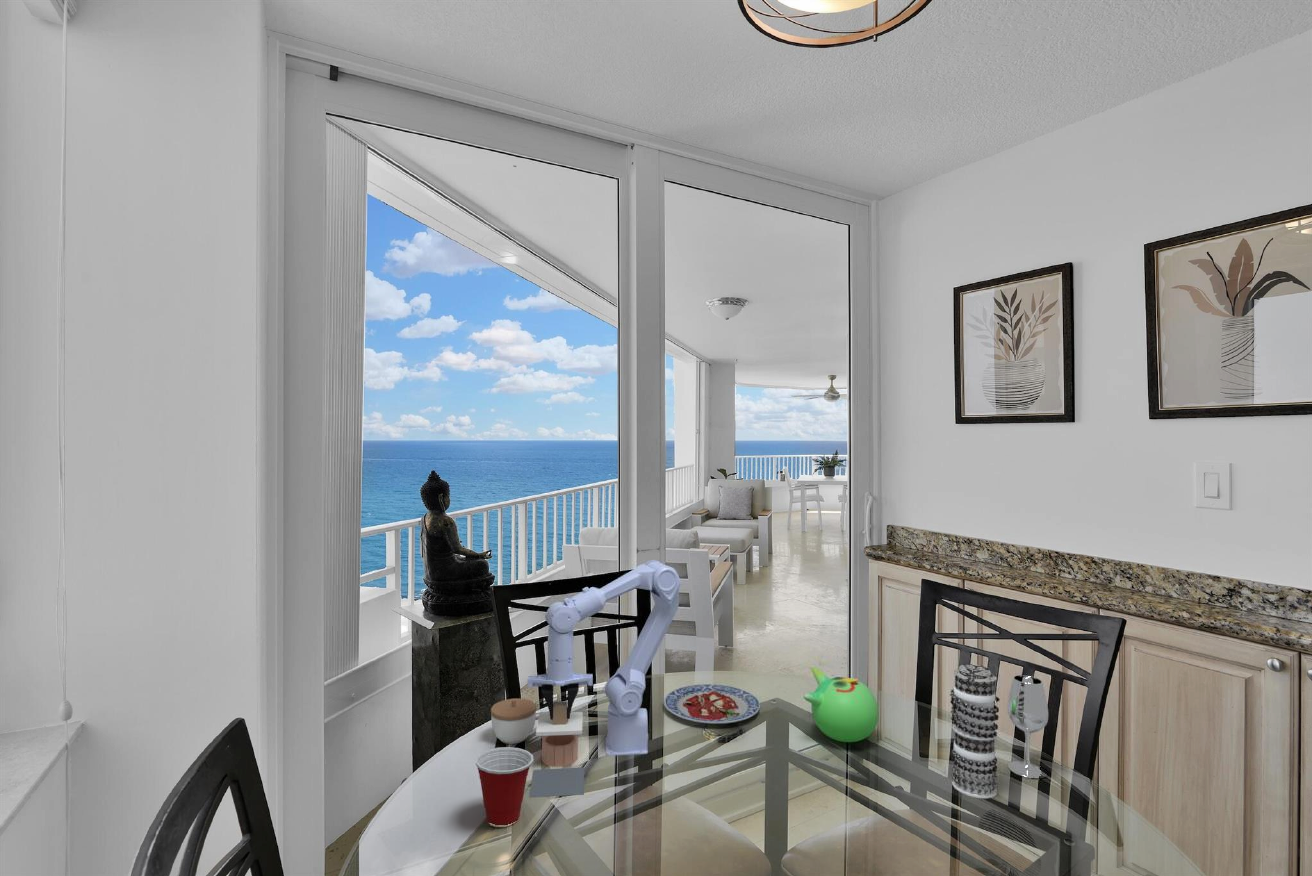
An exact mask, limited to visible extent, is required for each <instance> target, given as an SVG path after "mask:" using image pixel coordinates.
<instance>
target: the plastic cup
mask: <svg viewBox="0 0 1312 876" xmlns="http://www.w3.org/2000/svg"><path fill="white" fill-rule="evenodd" d="M533 762H534V754H532V753H531V752H529V751H528V750H525V749H523V748H519V747H511V746H507V747H504V746H503V747H494V748H490V749H487V750H485V751H483V752H480V753H479V754H478V755H477V756H476V757H475V766H476V767H477V770H478V771H477V772H478V775H479V780H480V786H481V787H480V788H481V794H482V801H483V808H484V809H485V816H486V817H485V818H486V822H487V821H488V822H489V823H492V824H495V825H508V824H511V823H513V822H515V821H517V820H518V821H519V819H518V818H520V816H521V809H522V803H523V801H524V800H523V799H524V793H525V788H526V785H527V779H528V778H527V777H528V774H529V771H530V767H531V765H532V764H533ZM518 821H517V822H518ZM488 822H487V823H488Z"/></svg>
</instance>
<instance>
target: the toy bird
mask: <svg viewBox="0 0 1312 876" xmlns="http://www.w3.org/2000/svg"><path fill="white" fill-rule="evenodd" d="M811 672H812V674H813V677H814V679H815V680H816V682H817V687H816V688H815V690H814V692H807V693H805V694H804V695H803V698H804V700H806V702H808V703H810V704H811V705H810V706H811V712H812V713H811V714H812V717H813V721H814V722H815V724H816V726H817V727H818V728H819V730H820V732H822V733H823V734H824V735H825V736H827V737H828V738H830V739H833V740H835V741H839V742H841V743H857V742H859V741H861V740H864V739H867V737H869V736H870V735H872V734H873V732H874V731H875V729H876V727H877V726H878V722H879V715H880V714H879V706H878V702H877V699H876V697H875V695H874V694H873V692H872V691H871V689H870V688H869V687H868V686H867V685H866V684H865V683H863V682H861V681H859V679H858V678H851V677H847V676H845V677H844V676H836V677H828V676H827V675H826V674H825V673H824V672H823V671H821V670H819V669H818V668H816V667H813V668H811Z"/></svg>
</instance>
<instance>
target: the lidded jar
mask: <svg viewBox="0 0 1312 876" xmlns="http://www.w3.org/2000/svg"><path fill="white" fill-rule="evenodd" d="M536 712H537V704H536V703H535V702H534V701H533V700H531V699H527V698H509V699H503V700H500V701H498V702H496V703H495V704H493V705H492V707H490V715H491V716H490V717H491V721H490V722H491V727H492V731H493V733H494V734H495V737H496V738H497V739H498V740H499V741H500V742H502V743H503V744H506V745H507V744H509V745H510V744H511V745H513V744H514V745H515V744H519V743H522V742H524V741H526V740H527V738H528V737H530V735H531V734H532V732H533V730H534V727H535V724H536V718H537V713H536ZM525 739H526V740H525Z"/></svg>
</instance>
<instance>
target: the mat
mask: <svg viewBox="0 0 1312 876" xmlns="http://www.w3.org/2000/svg"><path fill="white" fill-rule="evenodd" d="M531 777H532V778H531V782H530V788H529V795H528V798H529V797H530V798H545V797H549V798H550V797H565V796H566V797H567V796H582V795H585V766H584V767H567V768H565V767H564V768H563V767H562V768H545V769H543V768H542V769H540V768H539V769H533V771H532V775H531Z"/></svg>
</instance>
